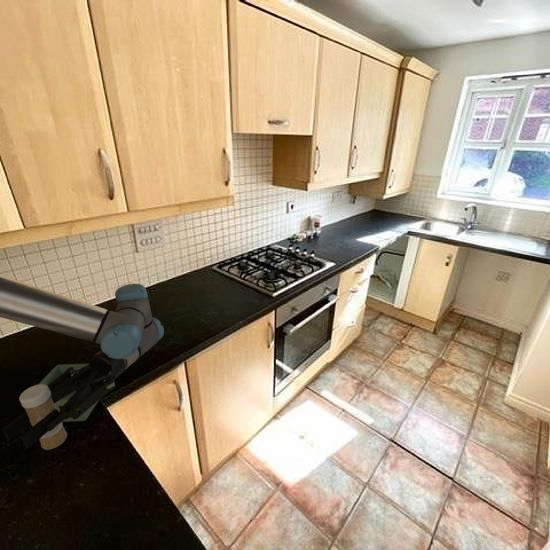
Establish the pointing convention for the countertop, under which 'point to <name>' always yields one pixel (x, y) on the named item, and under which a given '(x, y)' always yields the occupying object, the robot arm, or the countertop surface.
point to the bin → (57, 373)
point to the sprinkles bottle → (42, 413)
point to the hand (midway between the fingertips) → (15, 438)
